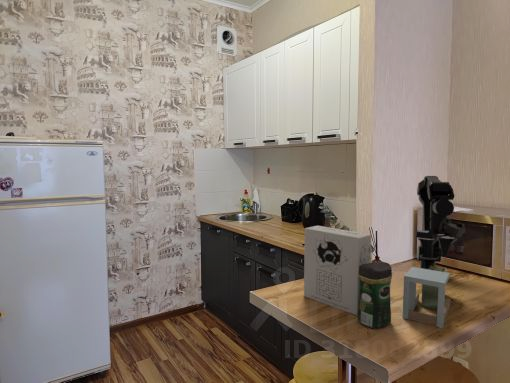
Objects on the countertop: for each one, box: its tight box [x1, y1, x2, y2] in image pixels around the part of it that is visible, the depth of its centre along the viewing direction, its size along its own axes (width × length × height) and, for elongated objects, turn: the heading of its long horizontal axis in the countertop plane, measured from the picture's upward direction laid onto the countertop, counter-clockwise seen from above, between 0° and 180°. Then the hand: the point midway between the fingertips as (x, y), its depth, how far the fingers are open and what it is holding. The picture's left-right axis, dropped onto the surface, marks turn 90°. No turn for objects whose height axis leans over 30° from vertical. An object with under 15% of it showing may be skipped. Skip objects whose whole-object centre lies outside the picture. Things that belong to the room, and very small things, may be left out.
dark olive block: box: [420, 265, 447, 310], centre depth 121 cm, size 16×5×10 cm, turn 144°
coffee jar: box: [357, 260, 393, 329], centre depth 104 cm, size 10×8×19 cm
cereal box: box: [303, 225, 372, 316], centre depth 118 cm, size 22×8×25 cm, turn 43°
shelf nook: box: [402, 266, 451, 329], centre depth 110 cm, size 17×11×14 cm, turn 144°
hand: (437, 257), depth 129 cm, fingers open, 9 cm apart
